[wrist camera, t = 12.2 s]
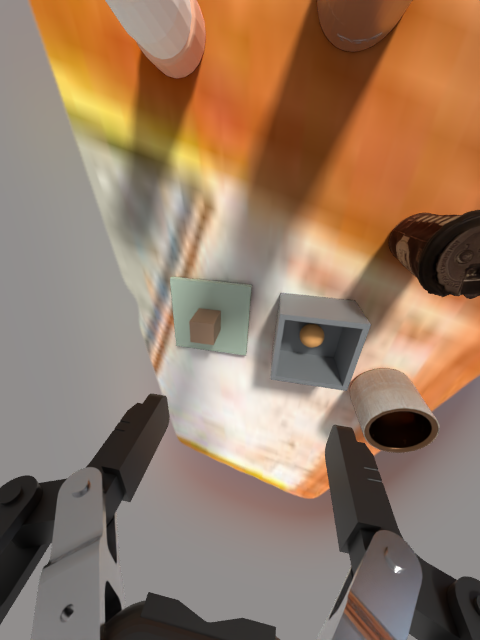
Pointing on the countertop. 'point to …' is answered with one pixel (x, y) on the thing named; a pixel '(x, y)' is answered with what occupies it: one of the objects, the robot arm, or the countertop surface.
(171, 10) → the pepper shaker
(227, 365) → the countertop surface
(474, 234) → the coffee cup
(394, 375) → the planter
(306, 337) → the ball
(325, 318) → the bin
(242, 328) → the lid
